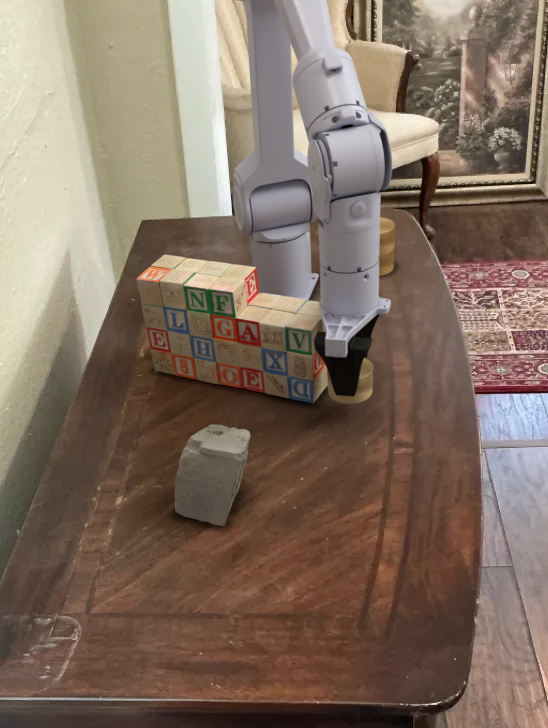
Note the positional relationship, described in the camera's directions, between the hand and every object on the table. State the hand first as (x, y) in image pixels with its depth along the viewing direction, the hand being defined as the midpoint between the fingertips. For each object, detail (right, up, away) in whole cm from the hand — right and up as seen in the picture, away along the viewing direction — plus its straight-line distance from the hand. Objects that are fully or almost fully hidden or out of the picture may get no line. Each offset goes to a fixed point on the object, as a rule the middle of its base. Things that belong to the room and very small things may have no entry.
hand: (350, 380), depth 92 cm
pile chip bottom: (+7, +20, +27) cm, 34 cm away
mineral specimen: (-14, -13, -6) cm, 20 cm away
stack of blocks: (-12, +2, +10) cm, 16 cm away
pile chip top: (+6, +23, +25) cm, 34 cm away
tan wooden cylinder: (0, -1, +1) cm, 1 cm away
